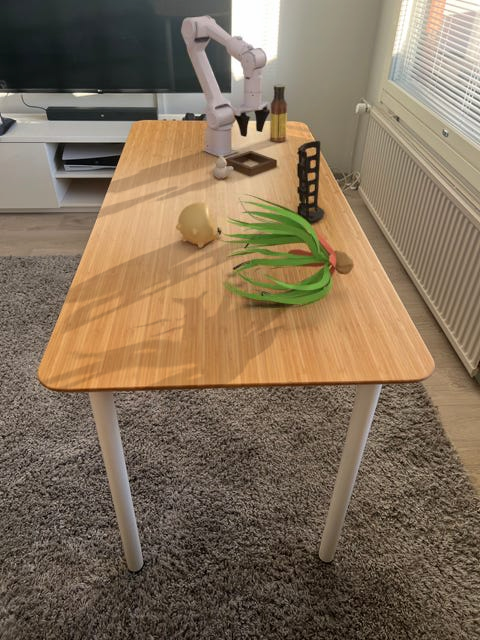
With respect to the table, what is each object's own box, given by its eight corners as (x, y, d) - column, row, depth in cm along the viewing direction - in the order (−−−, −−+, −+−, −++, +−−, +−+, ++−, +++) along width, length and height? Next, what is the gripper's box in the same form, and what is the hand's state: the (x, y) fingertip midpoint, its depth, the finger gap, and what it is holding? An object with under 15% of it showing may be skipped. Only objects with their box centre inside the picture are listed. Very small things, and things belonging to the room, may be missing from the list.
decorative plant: (357, 331, 113) (226, 351, 106) (315, 256, 129) (199, 269, 121) (396, 239, 94) (240, 255, 86) (342, 164, 110) (206, 172, 102)
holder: (322, 225, 142) (323, 152, 130) (295, 224, 144) (293, 153, 132) (325, 208, 151) (326, 139, 139) (299, 208, 152) (298, 140, 141)
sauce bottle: (286, 137, 203) (289, 83, 191) (285, 143, 198) (289, 87, 186) (269, 137, 203) (272, 83, 191) (268, 142, 198) (271, 87, 186)
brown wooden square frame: (224, 166, 177) (224, 158, 176) (250, 157, 184) (250, 150, 183) (250, 176, 170) (250, 169, 168) (276, 167, 177) (277, 160, 176)
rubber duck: (213, 174, 171) (213, 150, 166) (233, 175, 171) (233, 151, 166) (212, 180, 167) (211, 156, 162) (232, 181, 166) (232, 156, 162)
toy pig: (214, 259, 134) (234, 223, 135) (194, 240, 123) (215, 202, 124) (186, 246, 138) (205, 212, 139) (164, 227, 128) (184, 190, 128)
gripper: (245, 97, 160) (244, 141, 168) (277, 89, 168) (274, 131, 176) (230, 92, 164) (229, 135, 172) (261, 85, 172) (259, 127, 180)
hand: (251, 133), depth 175 cm, fingers open, 7 cm apart
